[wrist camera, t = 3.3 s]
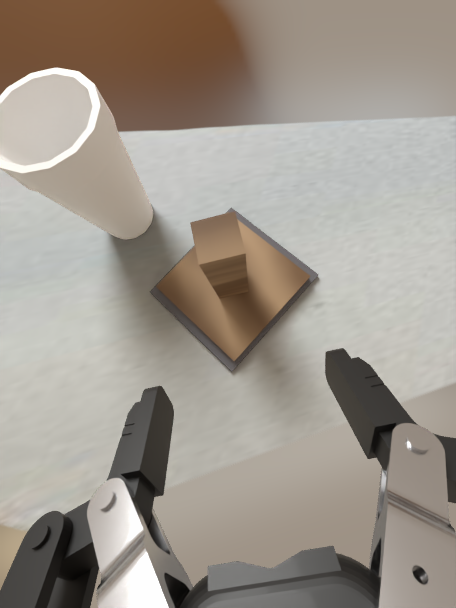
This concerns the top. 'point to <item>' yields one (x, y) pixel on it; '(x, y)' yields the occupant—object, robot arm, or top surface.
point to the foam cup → (71, 151)
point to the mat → (232, 364)
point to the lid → (231, 282)
